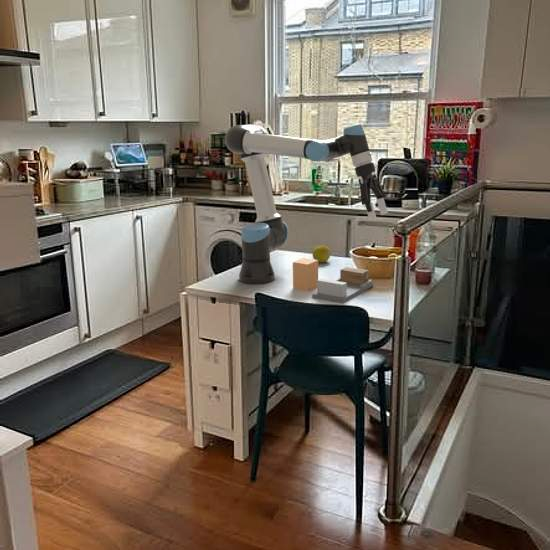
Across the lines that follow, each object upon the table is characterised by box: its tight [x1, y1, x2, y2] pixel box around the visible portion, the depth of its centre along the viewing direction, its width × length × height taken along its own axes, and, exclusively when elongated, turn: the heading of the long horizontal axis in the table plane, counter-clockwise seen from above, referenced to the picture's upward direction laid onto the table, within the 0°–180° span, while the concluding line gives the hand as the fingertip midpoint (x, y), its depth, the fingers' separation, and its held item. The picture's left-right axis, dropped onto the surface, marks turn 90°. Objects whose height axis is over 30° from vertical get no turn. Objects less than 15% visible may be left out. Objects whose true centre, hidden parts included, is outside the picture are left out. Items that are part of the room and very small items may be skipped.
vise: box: [311, 277, 374, 304], centre depth 215 cm, size 26×13×6 cm, turn 145°
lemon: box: [312, 245, 332, 264], centre depth 260 cm, size 11×8×8 cm
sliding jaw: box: [339, 266, 369, 285], centre depth 222 cm, size 5×10×5 cm, turn 55°
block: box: [292, 257, 319, 292], centre depth 221 cm, size 8×7×11 cm
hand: (379, 217), depth 216 cm, fingers open, 13 cm apart
